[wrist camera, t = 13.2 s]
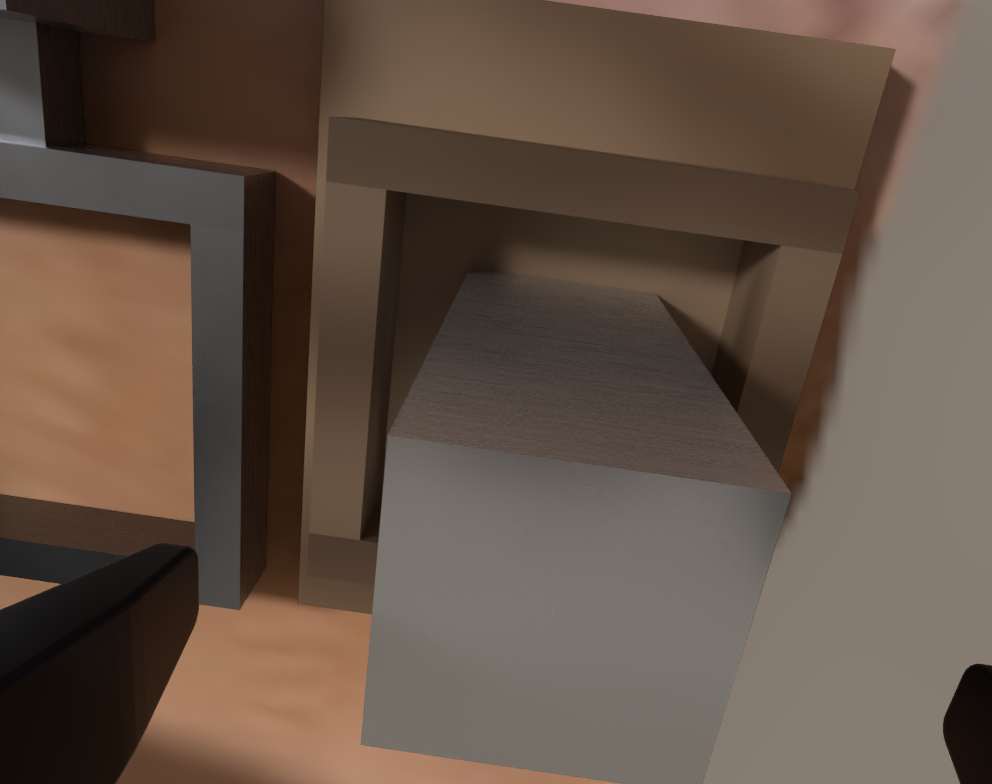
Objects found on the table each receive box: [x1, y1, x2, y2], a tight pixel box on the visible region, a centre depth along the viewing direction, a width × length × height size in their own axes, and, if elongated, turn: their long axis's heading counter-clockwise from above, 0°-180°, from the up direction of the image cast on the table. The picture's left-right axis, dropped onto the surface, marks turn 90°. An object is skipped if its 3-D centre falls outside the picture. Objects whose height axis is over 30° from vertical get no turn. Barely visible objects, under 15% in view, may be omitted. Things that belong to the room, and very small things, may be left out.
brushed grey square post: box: [361, 267, 792, 784], centre depth 13 cm, size 4×4×10 cm
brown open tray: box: [298, 0, 896, 614], centre depth 17 cm, size 16×12×4 cm
